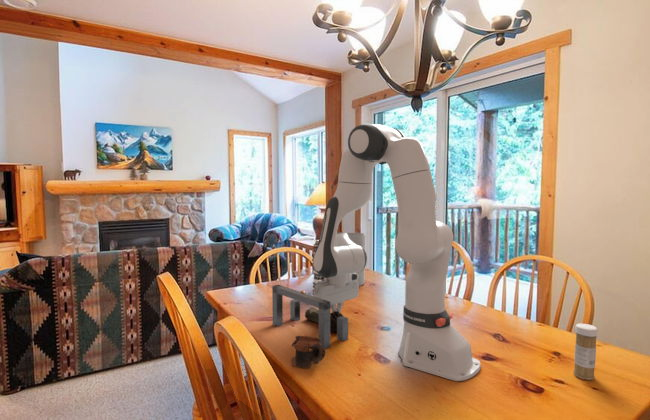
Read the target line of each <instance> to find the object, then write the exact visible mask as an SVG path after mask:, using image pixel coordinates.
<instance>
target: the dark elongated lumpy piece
mask: <svg viewBox="0 0 650 420" xmlns="http://www.w3.org/2000/svg"><path fill="white" fill-rule="evenodd" d="M341 316H344V315H343V313H342V312H341V313H339V312H338V311H335V312H333V313H332V312H330V331H332V332H333V333H335V332H337V318H338V317H341ZM304 317H305V319H307V320H309V321H312V322H314V323H318V324H319V309H318V308H316V307H315V308H314V307H313V306H312V307H310V306H309V308H307V309H306V310H305V312H304Z"/></svg>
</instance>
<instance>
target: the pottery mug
mask: <svg viewBox="0 0 650 420" xmlns="http://www.w3.org/2000/svg"><path fill="white" fill-rule="evenodd" d="M291 347H293V348H294V349H295V356H293V357H291V358H290V359H291V360H290V361H291V366H292V367H299V368H302V369H311V367H312V364H314V365H317V364H319V363H320V362H321V361H322V360H323V359H324V358H325V356H326V349H325V348H324V347H323V346H322V345H321V339H319V337H315V336H309V335H308V336H307V335H296V336H295V340H294V341H293V342H292V344H291ZM310 349H311V350H310Z"/></svg>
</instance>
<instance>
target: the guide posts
mask: <svg viewBox="0 0 650 420" xmlns="http://www.w3.org/2000/svg"><path fill="white" fill-rule="evenodd" d="M289 301H290V302H289V303H290V305H289V306H290V307H289V308H290V310H289V311H290V313H289V314H290V318H289V319H290V320H291V321H294V322H296V321H298V320H301V302H300V301H298V300H295V299H291V300H289ZM336 340H339V341H340V342H345V341H347V340H349V317H346V316H344V315H343V316H341V317H338V318H337V330H336Z"/></svg>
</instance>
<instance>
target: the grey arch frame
mask: <svg viewBox="0 0 650 420" xmlns="http://www.w3.org/2000/svg"><path fill="white" fill-rule="evenodd" d="M271 288H272V290H271V291H272V293H271V294H272V295H271V296H272V297H271V299H272V326H273V327H281V326H283V325H284V324H283V323H284V322H283V321H284V319H283V318H284V317H283V315H284V314H283V305H284V304H283V296H284V297H287V298H290V299H291V300H294V299H295V300H298V301H300V303H304V304H306V305H309V306H312V307H313V308H314V307H315V308H316V309H318V310H319V323H318V338H319V339H321V345H322V346H323V347H324V348H325V350H326V349H328V348H330V347H331V329H330V313H331V308H330V302H329V301H326V300H323V299H320V298H317V297H314V296H313V295H311V294H308V293H307V292H306V291H305V290H301V291H298V290H297V289H294V288H293V289H292V288H289V287H288V286H287V287H286V286H284V285H280V284H275V285H272V287H271Z"/></svg>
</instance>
